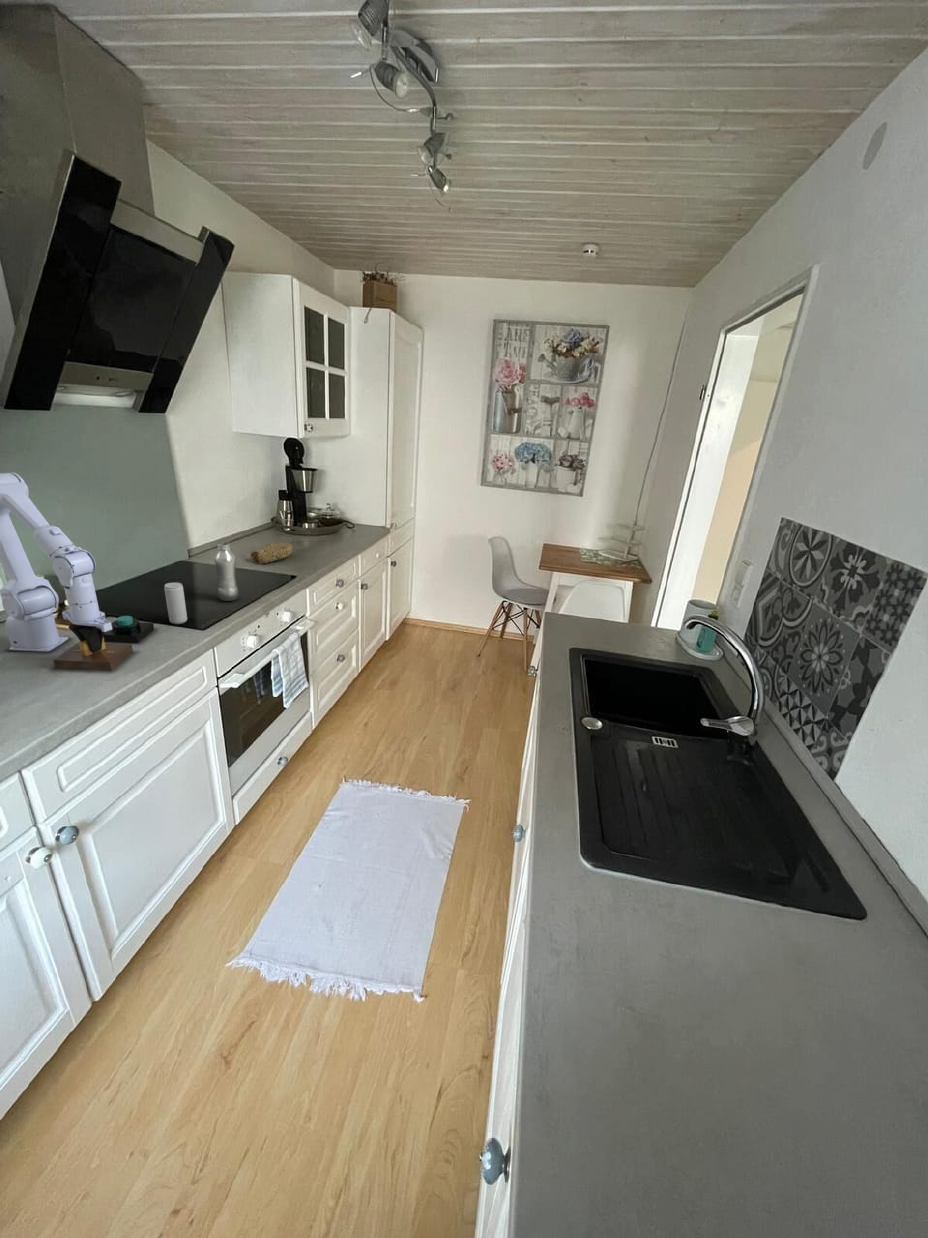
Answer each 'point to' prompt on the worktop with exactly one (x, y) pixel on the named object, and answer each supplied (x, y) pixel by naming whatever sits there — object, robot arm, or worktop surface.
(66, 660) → the plate
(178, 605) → the beverage can
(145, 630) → the lock button box
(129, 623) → the lock button
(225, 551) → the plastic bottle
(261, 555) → the tan oblong lump
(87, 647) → the thumbturn
